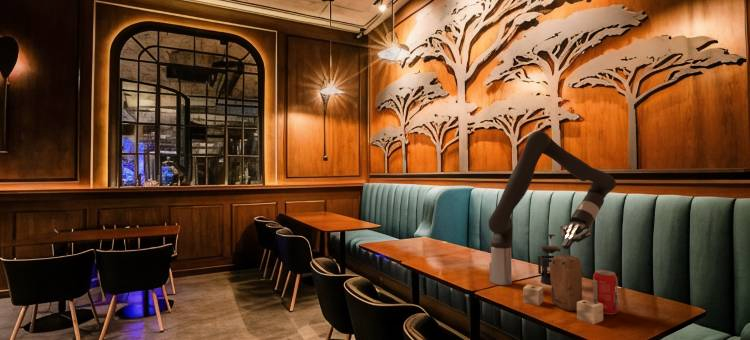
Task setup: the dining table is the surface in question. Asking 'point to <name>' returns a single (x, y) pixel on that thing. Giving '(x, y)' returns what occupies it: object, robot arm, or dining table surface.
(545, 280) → the french press
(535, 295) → the dotted cube one
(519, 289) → the dining table surface
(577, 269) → the block
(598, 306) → the dotted cube two
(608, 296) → the soda can
